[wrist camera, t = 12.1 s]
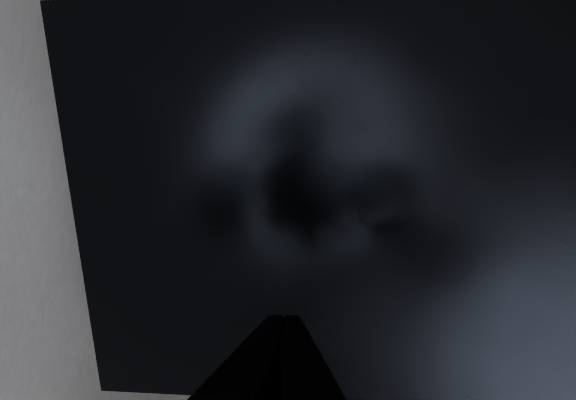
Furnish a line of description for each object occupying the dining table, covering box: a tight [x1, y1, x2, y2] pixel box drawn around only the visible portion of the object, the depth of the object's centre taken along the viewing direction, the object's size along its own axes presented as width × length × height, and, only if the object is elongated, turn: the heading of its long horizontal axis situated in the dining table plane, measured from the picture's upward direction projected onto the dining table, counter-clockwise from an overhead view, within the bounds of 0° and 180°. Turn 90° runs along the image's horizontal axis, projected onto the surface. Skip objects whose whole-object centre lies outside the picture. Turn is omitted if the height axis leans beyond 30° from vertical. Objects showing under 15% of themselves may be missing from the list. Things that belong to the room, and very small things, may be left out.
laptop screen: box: [40, 0, 576, 400], centre depth 15 cm, size 20×29×1 cm
